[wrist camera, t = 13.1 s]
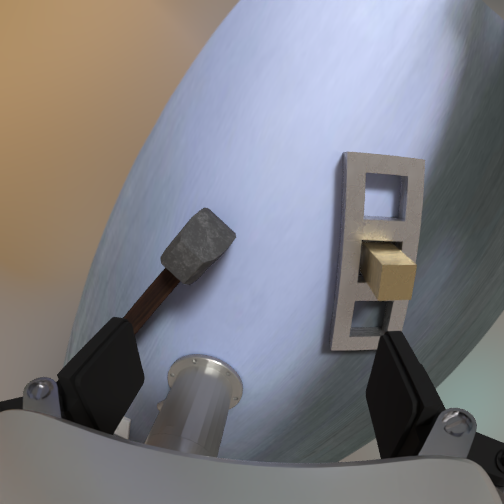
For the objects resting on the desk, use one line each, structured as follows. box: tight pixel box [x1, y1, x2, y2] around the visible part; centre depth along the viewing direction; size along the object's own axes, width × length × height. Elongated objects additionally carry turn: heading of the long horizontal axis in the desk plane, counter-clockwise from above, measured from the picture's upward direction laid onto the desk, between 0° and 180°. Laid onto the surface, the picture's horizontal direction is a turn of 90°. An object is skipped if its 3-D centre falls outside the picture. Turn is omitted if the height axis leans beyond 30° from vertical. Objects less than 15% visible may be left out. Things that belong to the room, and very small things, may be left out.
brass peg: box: [360, 242, 417, 301], centre depth 33 cm, size 4×4×9 cm
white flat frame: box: [329, 152, 425, 350], centre depth 36 cm, size 26×10×2 cm, turn 0°
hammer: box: [123, 208, 236, 335], centre depth 39 cm, size 5×11×30 cm
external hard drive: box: [114, 417, 131, 439], centre depth 54 cm, size 2×8×12 cm
